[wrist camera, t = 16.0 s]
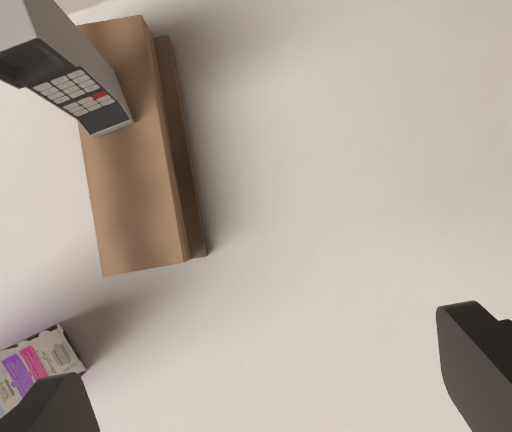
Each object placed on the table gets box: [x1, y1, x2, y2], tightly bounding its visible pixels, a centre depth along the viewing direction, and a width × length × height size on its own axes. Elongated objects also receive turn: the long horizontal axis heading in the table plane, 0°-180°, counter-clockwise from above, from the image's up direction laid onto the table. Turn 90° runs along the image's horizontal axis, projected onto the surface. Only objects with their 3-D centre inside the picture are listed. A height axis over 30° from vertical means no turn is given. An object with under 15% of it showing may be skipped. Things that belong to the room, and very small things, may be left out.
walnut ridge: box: [76, 15, 208, 277], centre depth 40 cm, size 10×22×6 cm, turn 10°
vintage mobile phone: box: [0, 0, 134, 138], centre depth 24 cm, size 4×5×25 cm
